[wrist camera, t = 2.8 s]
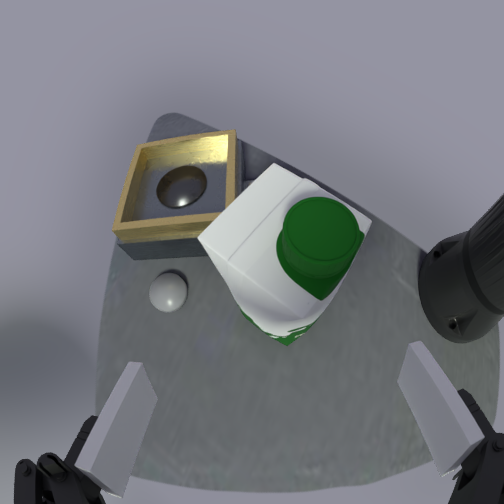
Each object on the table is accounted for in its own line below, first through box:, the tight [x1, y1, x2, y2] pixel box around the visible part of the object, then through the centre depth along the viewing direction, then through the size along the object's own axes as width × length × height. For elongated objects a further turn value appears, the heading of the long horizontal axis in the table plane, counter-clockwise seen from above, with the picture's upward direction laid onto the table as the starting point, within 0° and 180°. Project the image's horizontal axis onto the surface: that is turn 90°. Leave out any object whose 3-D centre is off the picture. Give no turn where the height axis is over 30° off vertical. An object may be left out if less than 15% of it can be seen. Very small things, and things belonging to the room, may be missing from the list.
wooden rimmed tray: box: [112, 130, 255, 260], centre depth 36 cm, size 19×16×8 cm
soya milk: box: [197, 163, 372, 346], centre depth 23 cm, size 9×9×20 cm
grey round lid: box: [149, 273, 188, 313], centre depth 33 cm, size 5×5×1 cm
